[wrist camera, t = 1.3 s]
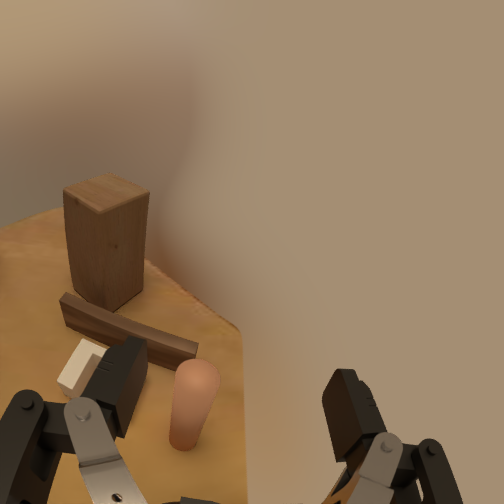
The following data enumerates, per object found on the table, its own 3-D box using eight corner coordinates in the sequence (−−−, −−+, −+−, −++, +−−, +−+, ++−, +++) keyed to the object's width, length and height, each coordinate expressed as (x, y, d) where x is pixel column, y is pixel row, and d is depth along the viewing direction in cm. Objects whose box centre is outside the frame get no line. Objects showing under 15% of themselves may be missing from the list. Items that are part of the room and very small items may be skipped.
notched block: (127, 424, 29) (124, 414, 26) (64, 394, 28) (56, 380, 26) (145, 378, 35) (145, 364, 33) (87, 353, 35) (82, 338, 33)
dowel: (164, 434, 29) (167, 368, 20) (185, 423, 31) (203, 352, 22) (179, 455, 27) (192, 404, 18) (201, 443, 30) (229, 384, 20)
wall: (190, 375, 38) (195, 354, 35) (66, 325, 37) (59, 300, 34) (193, 365, 40) (198, 343, 37) (71, 317, 39) (65, 292, 36)
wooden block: (106, 318, 42) (99, 211, 31) (72, 288, 44) (61, 187, 33) (144, 289, 50) (151, 190, 39) (109, 265, 52) (110, 171, 41)
